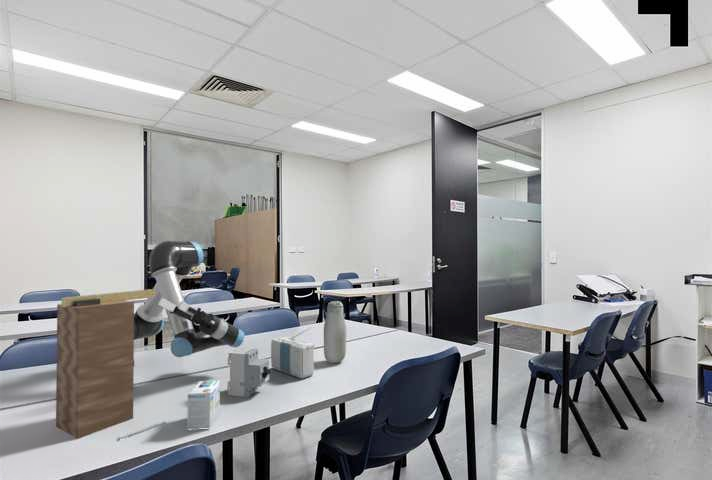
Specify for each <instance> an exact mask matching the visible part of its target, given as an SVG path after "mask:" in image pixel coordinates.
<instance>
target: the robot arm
mask: <svg viewBox="0 0 712 480" xmlns="http://www.w3.org/2000/svg"><path fill="white" fill-rule="evenodd" d="M203 251H204V250H203V248H202V247H201V246H200V244H199V243H197V242H195V241H190V240H186V241H180V240H179V241H178V240H165V241H162V242H159V243H158V244H156V245H155V247H154V248H153V249H152V250H151V251H150V255H149V260H148V265H149V266H148V267H149V272H150V275H151V277H152V278H154V279H155V280H156V283H155V285H154V287H152V289H153V290H155V297H151V298H146V300H145V302H144V304H142V305H139V306H138V307H137V309H136V310H135V311H134V341H137V340H141V339H145V338H146V339H147V338H151V337H153V336H155V335H157V334H159V333H160V332H162V330H163V328H164V325H165V323H164V321H165V317H164V313H163V312H164V310H165V313H166V315H167V319H168V321H169V324H170V328H171V331H172V334H173V337H174V339H173V340H171V343H170V351H171V354H172V355H173V356H174V357H176V358H183V357H186V356H190V355H193V354H196V353H199V352H202V351H206V350H208V349H212V348H215V347H216V348H217V347H223V346H229V347H230V348H236V349H237V348H239V347H240V346H241V345H242V344H243V342H244V339H245V332H244V331H242V330H241V329H240V328H239V327H236V326H234V325H233V324H230V323H229V322H227V321H225V319H224V318H220V317H218V316H217V315H215V314H213V313H206V312H205V311H204V310H202V308H201V307H197V308H195V307H194V306H192V305H190V304H189V303H187V302H186V301H185V299H184V295H183V292H182V289H181V286H180V283H181V281H182V280H183V278H184V277H186V276H188V275H189V274H190V273H191V271H192V269H193V268H197V267H199V266H201V265H202V263H203V260H204V253H203ZM193 323H194V324H195V325H198V328H199V331H198V332H195V329H194V327H193V326H194V325H193Z"/></svg>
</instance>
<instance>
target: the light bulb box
mask: <svg viewBox="0 0 712 480" xmlns="http://www.w3.org/2000/svg"><path fill="white" fill-rule="evenodd" d="M220 383H221V381H220V380H204V381H203V380H202V381H201V380H199V381H198V382H197V383H196V385H195V386H193V388H192V389H191V390H190V391H189V392H188V393H187V429H199V428H210V427H211V426H212V427H213V425H214V424H215V422H216V420H217V419H216V418H218V417H219V416H220V410H221V409H220V405H221V404H220V403H221V399H220V398H221V397H220V392H221V391H220V389H221V388H220V387H221V384H220ZM214 421H215V422H214ZM212 424H213V425H212ZM212 427H211V428H212ZM211 428H210V429H211Z"/></svg>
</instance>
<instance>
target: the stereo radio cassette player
mask: <svg viewBox="0 0 712 480" xmlns="http://www.w3.org/2000/svg"><path fill="white" fill-rule="evenodd" d="M310 329H312V326H310V327H309V328H307V329H305V330H304V331H301V332H300V333H297V334H296V335H294V336H292V337H290V336H283V337H277V338H273V339H271V342H270V344H271V345H270V359H271V361H270V362H271V368H273V369H274V370H277V371H280V372H283V373H285V374H287V375H290V376H293V377H296V378H299V379H301V380H303V379H305V378H309V377H310V376H311V377H312V376H313V375H314V372H315V371H314V370H315V368H314V366H315V365H314V362H315V359H314V357H315V356H314V354H315V353H314V352H315V351H314V350H315V347H316V346H315V343H312V342H308V341H305V340H300V339H297V338H296V337H297V336H298V337H299V336H300V335H301V334H303V333H305V332H306V331H308V330H310Z"/></svg>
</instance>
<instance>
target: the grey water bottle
mask: <svg viewBox="0 0 712 480" xmlns="http://www.w3.org/2000/svg"><path fill="white" fill-rule="evenodd" d="M326 310H327V311H326V318H325V321H324V324H323V355H324V358H325V360H326V361H327V362H329V363H330V364H339V363H341V362H342V361H344V360H345V357H346V353H347V324H346V320H345V316H344V305H343V303H342V302H341V301H340V300H331V301H330V302H329V303H328V304H327V307H326Z"/></svg>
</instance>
